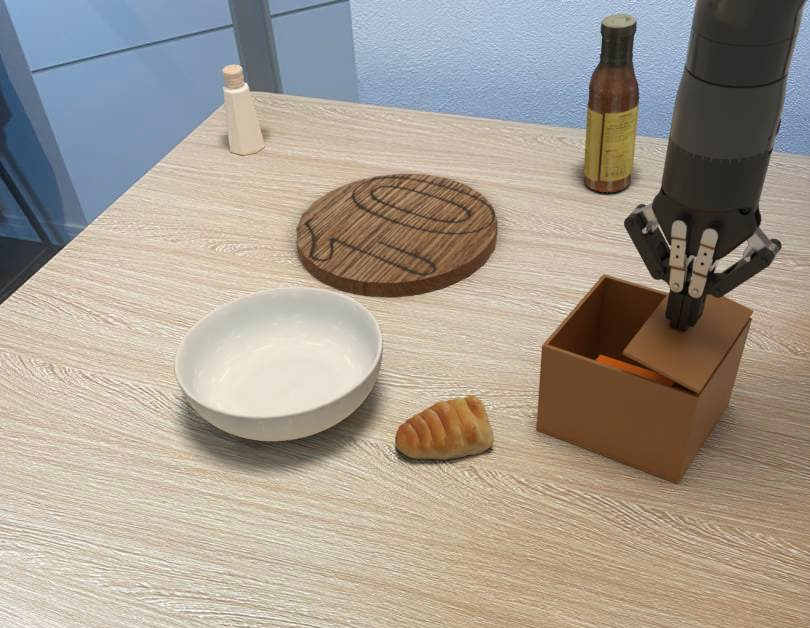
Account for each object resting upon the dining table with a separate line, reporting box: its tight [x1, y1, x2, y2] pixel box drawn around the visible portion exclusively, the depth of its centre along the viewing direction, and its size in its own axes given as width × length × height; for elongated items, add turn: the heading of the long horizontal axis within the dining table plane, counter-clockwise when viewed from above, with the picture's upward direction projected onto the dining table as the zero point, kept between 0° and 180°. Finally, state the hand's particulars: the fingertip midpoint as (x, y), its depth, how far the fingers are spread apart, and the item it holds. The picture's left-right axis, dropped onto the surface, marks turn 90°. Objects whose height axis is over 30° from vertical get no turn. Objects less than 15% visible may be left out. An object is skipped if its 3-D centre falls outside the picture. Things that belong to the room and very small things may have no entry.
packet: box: [595, 355, 676, 387], centre depth 89 cm, size 8×5×4 cm, turn 57°
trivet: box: [295, 173, 498, 298], centre depth 114 cm, size 25×25×2 cm
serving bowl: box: [173, 286, 384, 442], centre depth 93 cm, size 21×21×7 cm
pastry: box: [394, 394, 495, 461], centre depth 89 cm, size 9×7×4 cm
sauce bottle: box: [583, 13, 640, 194], centre depth 113 cm, size 7×6×20 cm
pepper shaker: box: [221, 64, 266, 156], centre depth 129 cm, size 5×5×11 cm
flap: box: [623, 292, 754, 394], centre depth 81 cm, size 7×13×1 cm, turn 147°
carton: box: [535, 273, 753, 485], centre depth 87 cm, size 15×13×10 cm
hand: (682, 324), depth 80 cm, fingers closed
